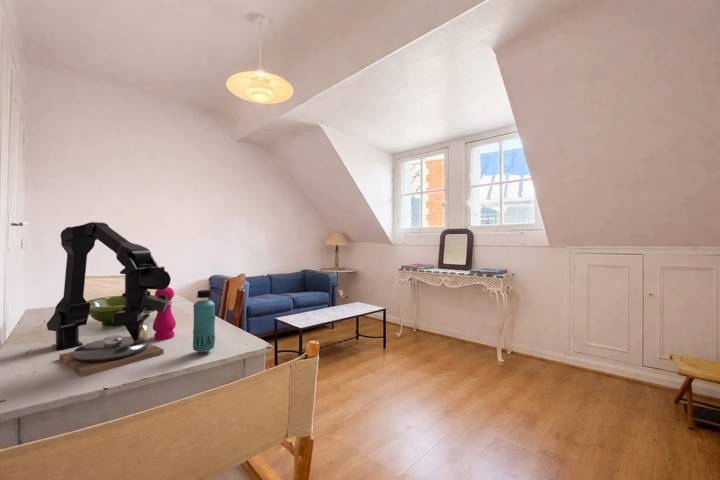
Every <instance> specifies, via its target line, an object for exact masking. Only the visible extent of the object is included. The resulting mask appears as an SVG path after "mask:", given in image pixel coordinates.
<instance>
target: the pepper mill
mask: <svg viewBox="0 0 720 480" xmlns="http://www.w3.org/2000/svg"><path fill="white" fill-rule="evenodd" d="M173 289H174V288H172V287H170V286H168V287H167V288H166V289H163V290H156V291H155V292H154V297H155V296H157V297H159V296H160V295H162V294H164V295H167V300H169V304H168V305H167V307H166V310H165V311H163V312H157V311H156V312H157V313H156V316H155V318H154V321H153V322H152V323H153V324H152V330H153V331H154V334H153V339H154V340H155V341H166V340H170V339H172V338H174V337H175V331H174V329H175V328H176V326H177V325H176V324H177V323H176V319H175V316H174V314H173V313H172V304H173V298H174V296H175V291H174V290H173Z"/></svg>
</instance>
